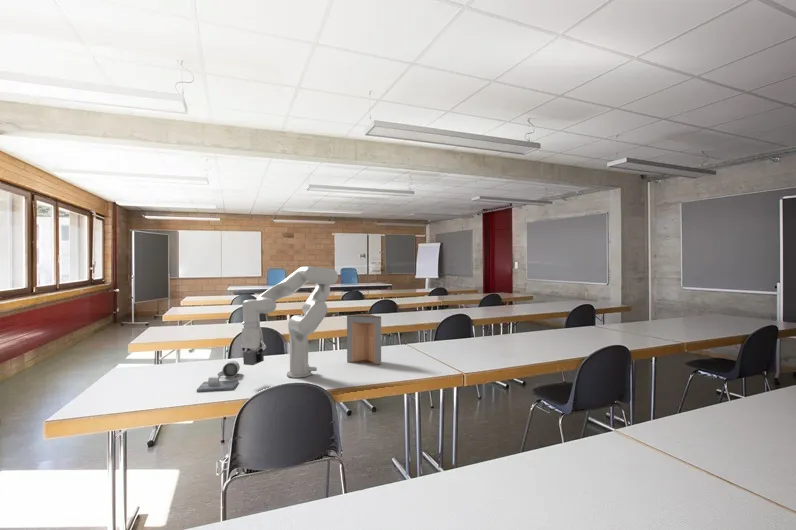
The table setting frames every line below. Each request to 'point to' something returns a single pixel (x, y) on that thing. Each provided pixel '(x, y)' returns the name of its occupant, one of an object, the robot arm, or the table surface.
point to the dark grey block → (251, 357)
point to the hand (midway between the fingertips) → (253, 360)
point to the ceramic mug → (230, 369)
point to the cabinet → (364, 339)
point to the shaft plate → (217, 385)
